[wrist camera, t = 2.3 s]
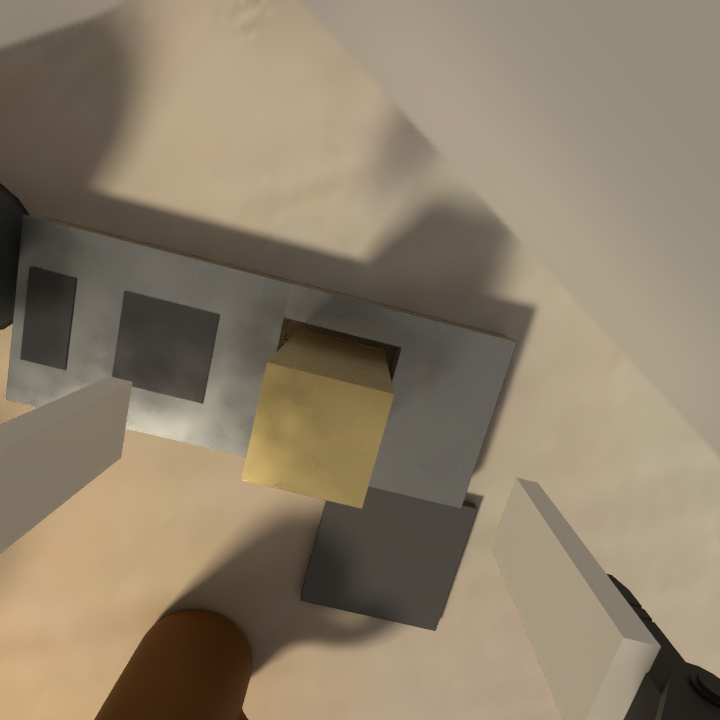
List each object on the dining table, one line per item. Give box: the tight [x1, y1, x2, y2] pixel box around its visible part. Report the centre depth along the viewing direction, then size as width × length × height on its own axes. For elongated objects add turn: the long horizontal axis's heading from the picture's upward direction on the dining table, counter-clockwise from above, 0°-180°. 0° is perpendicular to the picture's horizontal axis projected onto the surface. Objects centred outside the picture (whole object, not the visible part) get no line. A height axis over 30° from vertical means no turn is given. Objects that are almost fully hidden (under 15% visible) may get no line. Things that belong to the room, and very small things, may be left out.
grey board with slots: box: [6, 215, 517, 508], centre depth 25 cm, size 26×10×2 cm, turn 76°
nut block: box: [241, 328, 394, 509], centre depth 22 cm, size 5×5×9 cm
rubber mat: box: [300, 486, 477, 631], centre depth 29 cm, size 9×9×1 cm
